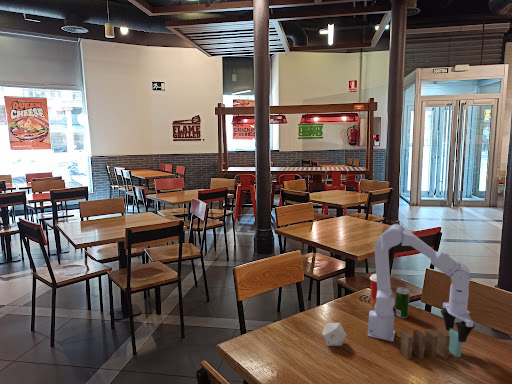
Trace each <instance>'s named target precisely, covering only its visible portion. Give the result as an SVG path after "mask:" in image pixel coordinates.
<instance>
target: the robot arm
mask: <svg viewBox="0 0 512 384" xmlns="http://www.w3.org/2000/svg"><path fill="white" fill-rule="evenodd" d="M400 244H401V245H400ZM398 245H400V246H403V247H405V246H408V247H411V248H413V249H415V250H417V251H418V252H419V253H421V254H422V255H424V256H425V257H427V258H429V260H430V263H431V265H433V266H434V267H435V268H437V269H438V270H439V271H441V272H442V273H443V274H445V275H446V276H448V277H450V281H451V284H450V286H449V287H450V288H449V299H448V301H447V302H443V303H442V308H443V309H440V314H441V316H442V318H443V321H444V322H443V323H444V326H445V330H446V331H450V328H454V325H456V328H457V331H458V339H459V342H462V343H466V342H467V339H468V336H469V335H470V333H471V331H473V329H475V326H476V325H475V324H474V321H473V319H471V316H470V313H471V312H470V311H469V310H468V305H469V293H470V292H469V291H470V289H469V288H470V287H469V286H470V282H471V272H470V269H469V268H468V267H467V266H466V264H462V263H461V262H458V261H456V260H454V259H453V258H452V257H450V254H449V253H448V252H443V251H436V249H435V250H434V249H433V247H431V246H430V245H428V244H427V243H426V242H424V240H422V239H420V238H419V237H418V236H417V235H415V234H414V233H413V232H412V231H411V230H409V229H408V228H405V227H404V226H403V225H401V224H398V223H394V224H392V225H390V226H389V227H387V228H386V229H385V230H384V231H383V232H382V233H381V235H380V237H379V238H378V240H377V241H376V243H375V244H374V258H375V259H374V260H375V262H374V263H375V274H376V277H377V296H376V304H375V306H374V307H373V308H374V310H369V313H368V325H367V336H368V337H371V338H375V339H381V340H385V341H387V342H388V341H389V342H394V340H395V335H396V331H395V330H394V328H395V310H394V309H393V308H394V307H395V305H396V297H394V295H393V290H392V287H391V274H390V258H389V257H390V256H389V250H390V249H392V248H393V247H396V246H398ZM456 318H457V319H458V320H460V321H458V322H457V321H456ZM455 321H456V322H455Z"/></svg>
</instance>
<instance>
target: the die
mask: <svg viewBox="0 0 512 384" xmlns="http://www.w3.org/2000/svg"><path fill="white" fill-rule="evenodd" d="M321 334H322V336H323V339H324V341H325V343H326V346H327V347H342V346H343V343H344V342H345V339H346V338H347V333H346V332H345V330H344V328H343V326H342V324H341V322H327V323H326V324H325V326H324V328H323V330H322V332H321Z"/></svg>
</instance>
